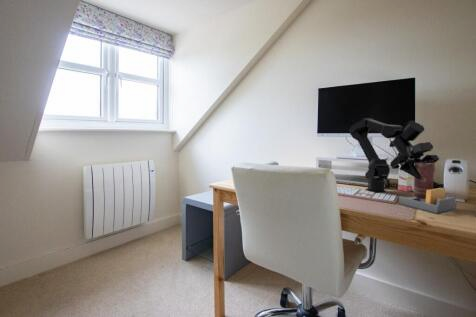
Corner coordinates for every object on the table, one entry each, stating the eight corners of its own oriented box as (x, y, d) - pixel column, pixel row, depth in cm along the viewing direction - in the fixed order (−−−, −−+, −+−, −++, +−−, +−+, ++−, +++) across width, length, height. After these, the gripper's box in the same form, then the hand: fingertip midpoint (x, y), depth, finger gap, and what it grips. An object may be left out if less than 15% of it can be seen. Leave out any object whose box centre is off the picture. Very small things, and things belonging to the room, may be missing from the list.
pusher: (425, 208, 96) (426, 189, 96) (439, 205, 100) (440, 187, 99) (432, 209, 94) (433, 191, 93) (446, 206, 98) (448, 188, 97)
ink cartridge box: (407, 192, 124) (409, 162, 123) (397, 189, 129) (399, 161, 127) (419, 190, 127) (421, 161, 126) (409, 188, 132) (411, 160, 130)
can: (434, 200, 98) (435, 164, 96) (414, 198, 101) (415, 163, 99) (432, 195, 103) (434, 161, 101) (413, 193, 106) (414, 160, 104)
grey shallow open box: (398, 204, 104) (399, 192, 103) (417, 200, 109) (418, 189, 108) (436, 214, 91) (438, 200, 91) (456, 210, 96) (457, 197, 96)
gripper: (397, 135, 101) (420, 167, 91) (437, 135, 104) (462, 165, 95) (381, 153, 109) (400, 184, 100) (418, 152, 113) (440, 182, 104)
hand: (426, 178), depth 99 cm, fingers closed on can, 5 cm apart
